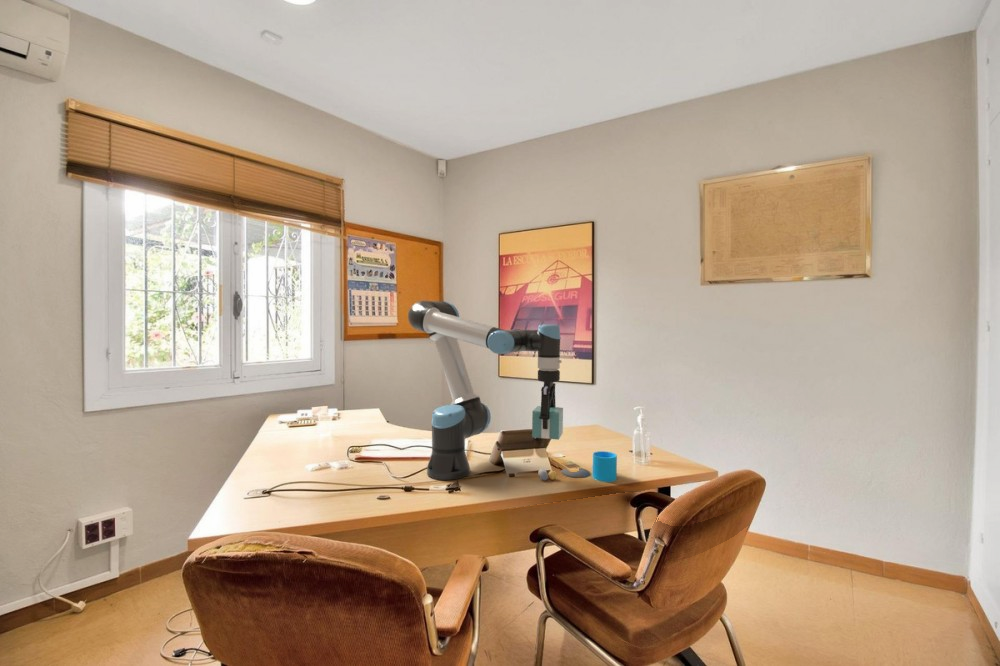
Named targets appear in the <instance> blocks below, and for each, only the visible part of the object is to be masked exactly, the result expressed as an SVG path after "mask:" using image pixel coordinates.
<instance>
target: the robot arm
mask: <svg viewBox="0 0 1000 666" xmlns="http://www.w3.org/2000/svg"><path fill="white" fill-rule="evenodd" d="M407 319H408V322H409V324H410V326H411V327H412V328H413V329H414V330H417V331H419V332H423V333H427V334H428V337H429V339H430V340H431V341H433V342H434V344H435V348H436V350H437V353H438V356H439V357H438V358H439V360H440V363H441V367H442V370H443V373H444V375H445V381H446V383H447V386H448V389H449V393H450V396H451V399H452V401H451V403H450V404H448V405H442V406H439V407H437V408H435V409H434V410H433V412H432V414H431V416H432V419H431V455H430V457H429V461H428V464H427V467H426V475H427V476H428V477H430V478H432V479H436V480H441V481H442V480H443V481H445V480H446V481H448V480H449V481H450V480H451V481H452V480H458V479H463V478H466V477H467V476H468V475H469V474H470V471H471V469H470V463H469V460H468V457H467V454H466V448H465V447H466V446H465V445H466V439H468V438H471V437H473V436H476V435H480V434H481V433H483V432H485V431H486V430H487V429H488V428H489V426H490V423H491V418H492V417H491V416H492V415H491V411H490V409H489V407H488V406H487V405H486V404H485V403H483V402H482V401H481V398H480V396H479V395H478V394H476V393H475V392H474V390H473V387H472V383H471V379H470V376H469V373H468V369H467V366H466V364H465V360H464V358H463V357H464V356H463V354H462V351H461V347H460V344H459V341H458V340H460V341H463V342H465V343H466V342H467V343H469V344H472V345H476V346H478V347H482V348H484V349H489V350H490V351H491V352H492V353H493V354H499V355H505V354H509V353H518V352H536V353H537V369H538V370H537V381H539V382H542V383H543V386H541V389H540V391H541V393H540V394H541V397H540V406H541V413H540V417H539V419H541V438H540V439H545V438H546V439H548V440H549V438H550V419H549V413H550V407H557V406H556V382H559V381H560V380H561V379H560V377H561V375H560V374H561V371H560V367H561V366H560V364H561V363H562V360H561V359H560V358H561V328H560V326H559V325H558V324H539V325H538V327H537V329H520V328H515V329H508V330H507V329H502V328H499V327H495V326H492V325H487V324H485V323H481V322H478V321H474V320H471V319H466V318H464V317H460V313H459V311H458V308H457V307H456V306H455V305H454V304H452V303H450V302H448V301H443V300H435V301H434V300H419V301H417V302H415V303H414V304H412V305H411V306H410V307H409V310H408V314H407ZM544 414H546V415H544Z"/></svg>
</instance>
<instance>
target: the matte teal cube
mask: <svg viewBox="0 0 1000 666" xmlns="http://www.w3.org/2000/svg"><path fill="white" fill-rule="evenodd" d="M540 413H541V405H539V406H538V405H537V406H536V407H535V408H534V409H533V410H532V415H531V416H532V419H531V420H532V425H531V427H532V428H531V429H532V430H531V438H535V439H542V438H541V419H539V417H540ZM544 415H546V414H544ZM549 419H550V438H549V439H550V440H559V439H561V437H562V435H563V432H564V431H563V429H564V423H563V422H564V421H563V420H564V407H558V406H556V407H550V413H549ZM544 439H546V438H544ZM549 439H548V440H549ZM559 441H560V440H559Z"/></svg>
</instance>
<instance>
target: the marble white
mask: <svg viewBox="0 0 1000 666" xmlns="http://www.w3.org/2000/svg"><path fill="white" fill-rule="evenodd" d="M541 472H547V470H546V469H545V468H539V470H538V472H537V474H538V477H540V473H541Z"/></svg>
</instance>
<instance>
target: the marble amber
mask: <svg viewBox="0 0 1000 666" xmlns="http://www.w3.org/2000/svg"><path fill="white" fill-rule="evenodd" d="M547 473H548V476H549V477H548V479H550V480H551V481H552V480H553V481H554V480H555V479H557V477H558V475H557V472H556V471H555V470H550V471H548V472H547Z"/></svg>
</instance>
